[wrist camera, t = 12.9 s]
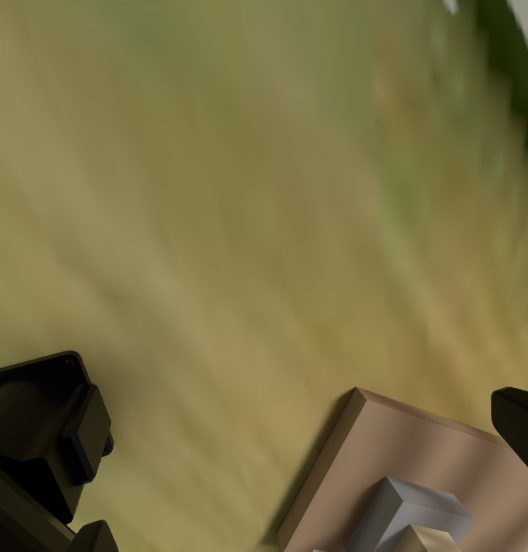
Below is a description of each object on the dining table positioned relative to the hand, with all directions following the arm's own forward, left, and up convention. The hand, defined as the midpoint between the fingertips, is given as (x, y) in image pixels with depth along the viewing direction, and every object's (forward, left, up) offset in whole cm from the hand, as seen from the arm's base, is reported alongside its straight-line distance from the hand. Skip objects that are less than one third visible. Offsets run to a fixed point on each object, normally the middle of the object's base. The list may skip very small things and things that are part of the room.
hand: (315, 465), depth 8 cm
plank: (+10, -19, -13) cm, 25 cm away
